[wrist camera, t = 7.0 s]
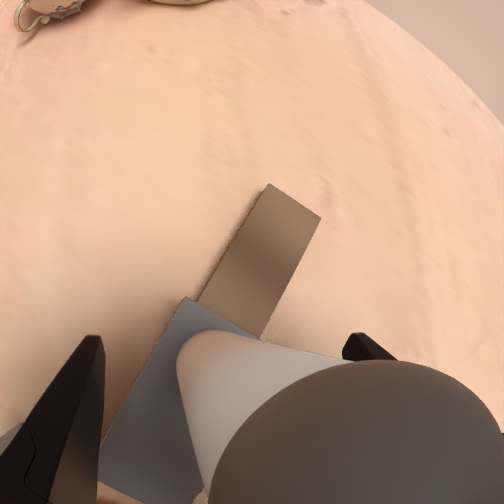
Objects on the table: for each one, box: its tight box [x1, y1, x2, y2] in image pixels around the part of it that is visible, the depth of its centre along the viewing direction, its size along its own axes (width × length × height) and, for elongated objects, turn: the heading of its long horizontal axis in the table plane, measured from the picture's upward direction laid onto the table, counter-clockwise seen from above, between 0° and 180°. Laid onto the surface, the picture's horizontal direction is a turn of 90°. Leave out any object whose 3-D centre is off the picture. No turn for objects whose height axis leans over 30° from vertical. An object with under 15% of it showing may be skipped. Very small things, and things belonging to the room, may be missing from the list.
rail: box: [196, 183, 321, 339], centre depth 17 cm, size 10×4×1 cm, turn 150°
